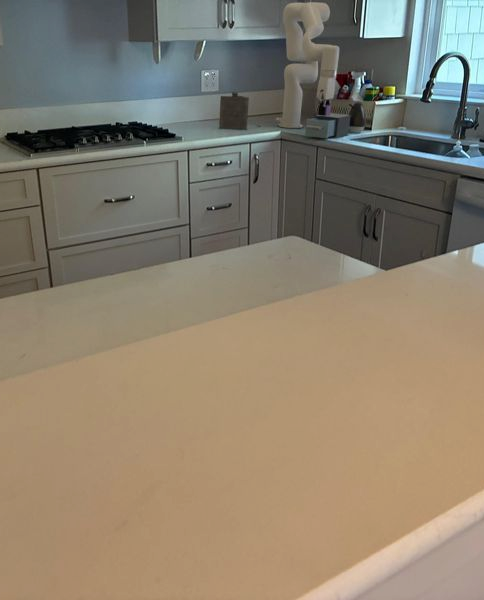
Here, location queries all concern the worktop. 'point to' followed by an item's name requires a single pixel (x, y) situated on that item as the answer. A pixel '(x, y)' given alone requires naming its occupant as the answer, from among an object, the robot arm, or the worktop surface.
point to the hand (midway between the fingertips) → (323, 114)
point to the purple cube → (326, 110)
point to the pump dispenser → (357, 117)
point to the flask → (233, 112)
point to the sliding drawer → (320, 127)
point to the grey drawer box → (339, 123)
